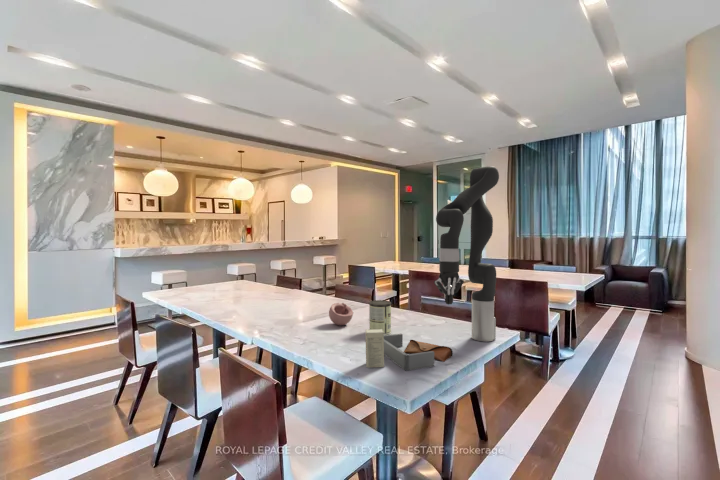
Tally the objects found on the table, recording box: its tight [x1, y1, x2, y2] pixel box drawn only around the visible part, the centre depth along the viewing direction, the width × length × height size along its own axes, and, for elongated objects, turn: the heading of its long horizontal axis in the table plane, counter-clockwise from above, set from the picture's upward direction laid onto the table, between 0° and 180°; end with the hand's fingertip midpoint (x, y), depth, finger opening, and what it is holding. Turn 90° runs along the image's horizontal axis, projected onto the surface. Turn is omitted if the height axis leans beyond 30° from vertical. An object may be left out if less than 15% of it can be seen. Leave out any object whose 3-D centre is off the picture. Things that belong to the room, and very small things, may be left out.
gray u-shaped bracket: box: [384, 333, 435, 372], centre depth 132 cm, size 11×24×5 cm, turn 21°
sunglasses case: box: [403, 339, 454, 363], centre depth 135 cm, size 18×7×7 cm
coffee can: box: [368, 299, 392, 335], centre depth 164 cm, size 10×10×14 cm
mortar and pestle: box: [328, 302, 354, 326], centre depth 177 cm, size 12×12×11 cm
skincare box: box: [365, 329, 385, 369], centre depth 123 cm, size 6×4×12 cm
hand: (448, 303), depth 139 cm, fingers closed
